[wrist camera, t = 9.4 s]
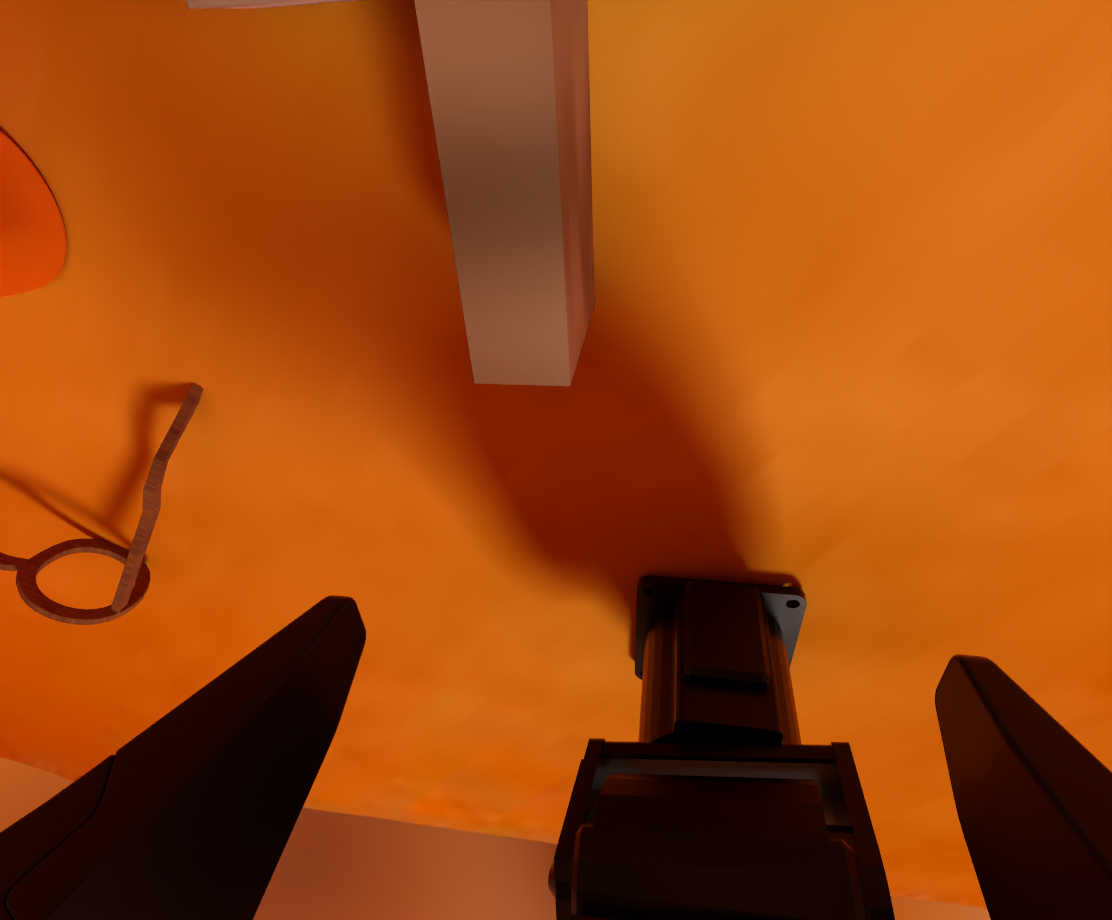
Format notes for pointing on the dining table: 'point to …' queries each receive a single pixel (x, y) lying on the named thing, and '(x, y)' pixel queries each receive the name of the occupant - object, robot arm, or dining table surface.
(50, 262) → the beer glass
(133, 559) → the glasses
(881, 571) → the dining table surface
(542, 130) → the scraper
